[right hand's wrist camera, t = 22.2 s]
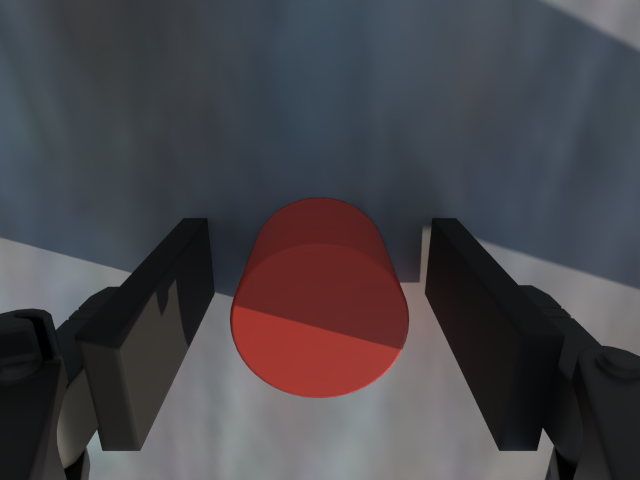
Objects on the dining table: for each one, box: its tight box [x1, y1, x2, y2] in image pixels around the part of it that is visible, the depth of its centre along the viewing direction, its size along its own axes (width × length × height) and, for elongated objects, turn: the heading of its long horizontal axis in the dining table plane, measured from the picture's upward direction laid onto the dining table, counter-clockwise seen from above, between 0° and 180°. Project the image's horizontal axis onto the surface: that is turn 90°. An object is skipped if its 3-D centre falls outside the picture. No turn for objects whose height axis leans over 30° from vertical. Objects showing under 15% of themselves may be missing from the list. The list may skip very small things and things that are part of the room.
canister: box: [230, 198, 409, 398], centre depth 12 cm, size 4×4×4 cm
